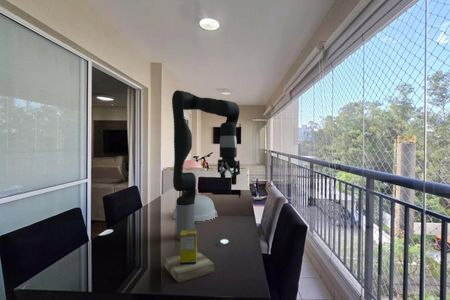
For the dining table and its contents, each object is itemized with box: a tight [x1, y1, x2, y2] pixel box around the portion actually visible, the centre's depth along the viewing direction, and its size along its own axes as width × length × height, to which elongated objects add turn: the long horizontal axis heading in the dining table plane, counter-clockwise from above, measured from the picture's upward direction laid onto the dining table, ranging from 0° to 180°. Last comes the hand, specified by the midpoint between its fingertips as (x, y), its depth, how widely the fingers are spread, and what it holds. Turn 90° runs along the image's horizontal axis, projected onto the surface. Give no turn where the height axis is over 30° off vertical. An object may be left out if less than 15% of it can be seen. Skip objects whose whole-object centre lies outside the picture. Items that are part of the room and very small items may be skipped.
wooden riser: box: [164, 250, 215, 283], centre depth 93 cm, size 14×14×3 cm
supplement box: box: [179, 229, 198, 264], centre depth 93 cm, size 6×6×11 cm
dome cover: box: [172, 194, 218, 222], centre depth 170 cm, size 32×30×14 cm
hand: (228, 183), depth 109 cm, fingers open, 8 cm apart
